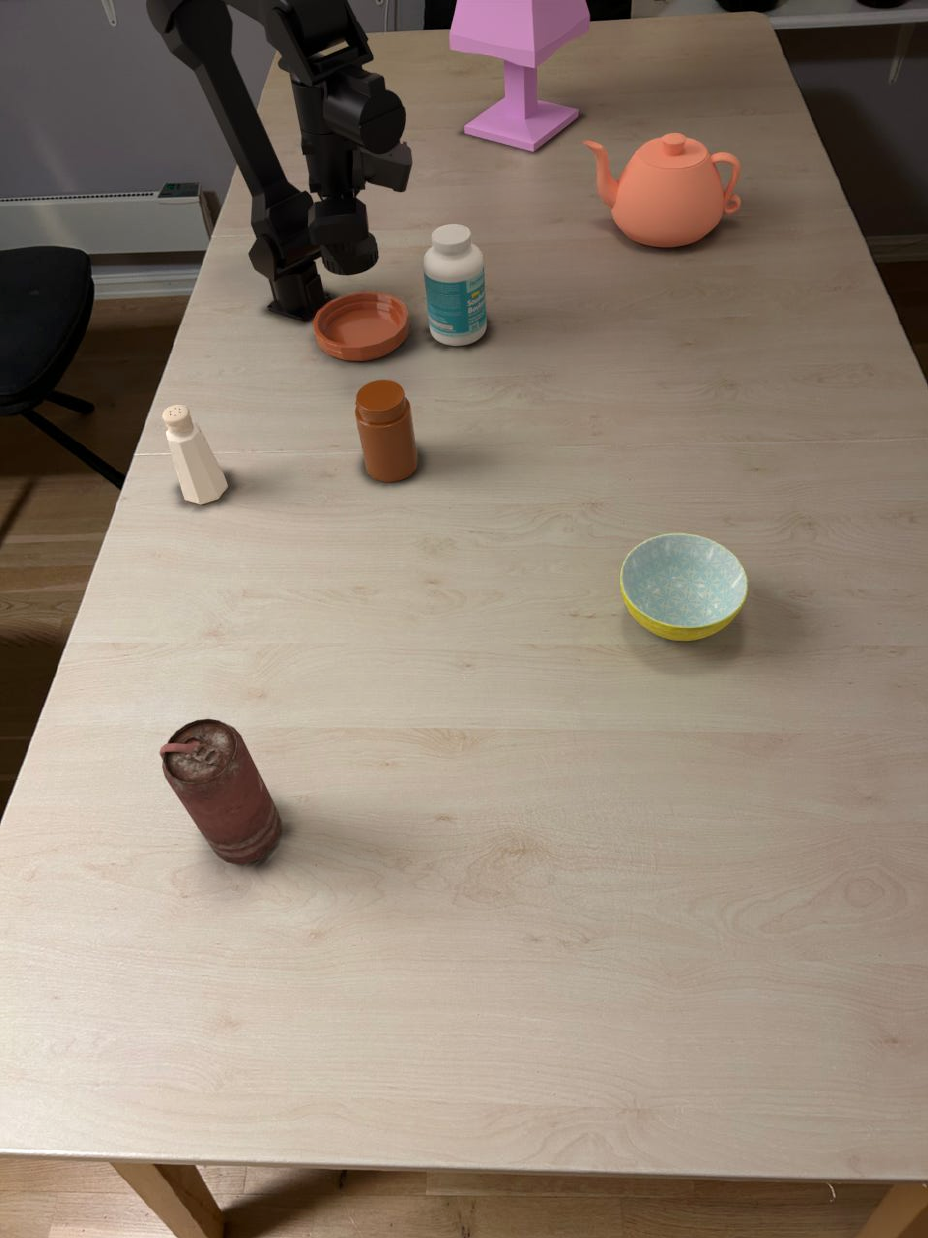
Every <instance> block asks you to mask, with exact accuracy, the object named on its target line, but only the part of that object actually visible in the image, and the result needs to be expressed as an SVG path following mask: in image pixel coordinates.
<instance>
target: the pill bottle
mask: <svg viewBox="0 0 928 1238" xmlns="http://www.w3.org/2000/svg"><path fill="white" fill-rule="evenodd" d="M422 269H423V277H424V287H425V295H426V305H427V315H428V325H429V330H430V334H431V336H432V337H433V339H434V340H435V341H437V342H438V343H440V344H443V345H445V346H453V347H462V346H467V345H470V344H473V343H475V342H477V341H479V340H480V339H481V338H482V337H483V336H484V335H485V333H486V331H487V326H488V320H487V319H488V318H487V301H486V300H487V299H486V282H485V281H486V279H485V278H486V277H485V259H484V255H483V252H482V251H481V249H480V248H479V246H477V245H476V244H474V243H472V233H471V230H470V229H469V228H468V227H467V226H465V225H463V224H458V223H450V224H449V223H448V224H444V225H441V226H438V227H437V228H435V229H434V230H433V231H432V233H431V246H430V248H428V249H427V251H426V252H425V254H424V256H423V260H422Z"/></svg>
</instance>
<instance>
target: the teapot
mask: <svg viewBox="0 0 928 1238" xmlns="http://www.w3.org/2000/svg"><path fill="white" fill-rule="evenodd" d="M582 143H583V144H584V145H585V146H586V147H588V149H589V150H591V152H592V153H593V155H594V157H595V162H596V187H597V192H598V195H599V197H600V199H601V200H602V202H603V203H604V204H605V205H606V206H608V207H609V208H610V213H611V217H612V219H613V221H614V223H615V224H616V226H617V227H618V228H619V229H620V230H621V232H622V233H623V234H624V235H625V236H626V237H628V238H629V239H630V240H631V241H634V242H636V243H639V244H640V245H641V244H642V245H646V246H649V247H655V248H675V247H677V248H678V247H682V246H687V245H690V244H693V243H696V242H698V241H700V240H701V239H703V238H704V237H705V236H707V235H708V234H709V233H710V232H712V231H713V230H714V229H715V228H716V226H717V225H719V223H720V221H721V220H722V217H723V214H725V215H732V214H735V213H737V212H738V211H739V209H740V208H741V204H742V200H741V197H740V196H739V195H738V194H736V193H735V194H733V192H734V190H735V188H736V187H737V184H738V182H739V179H740V175H741V163H740V160H739V159H738V158H737V156H735V155H734V154H733V153H730V152H727V151H720V152H716V153H713V154H712V155H711V153H710V152H709V150H708V148H707V147H706V146H705V144H703V143H702V142H700V141H698V140H696V139H694V138H691V137H687V136H686V135H685V134H683V133H679V132H670V133H666V134H664V135H663V136H662V137H655V138H654V139H651V140H648V141H646V142H644V143H643V144H642V145H641V146H640V147H639V148H638V149H637V150H636V151H635V152H634V154H633V156H632V157H631V158H630V159H629V161H628V163H627V164H626V165H625V166H624V168H623V170H622V171H621V173H620V175H619V177H618V180H617V179H615V178H614V177H613V176H612V175H611V173H610V158H609V153H608V151H607V149H606V148H605V146H604V145H602V144H600V143H598V142H596V141H591V140H583V141H582ZM717 163H727V164H729V165H731V167H732V173H731V177H730V179H729V182H728V184H727V186H726V188H725V190H724V185H723V181H722V177H721V175H720V172H719V169H718V167H717V165H716V164H717ZM729 202H734V203H733V204H729Z"/></svg>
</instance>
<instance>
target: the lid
mask: <svg viewBox="0 0 928 1238" xmlns="http://www.w3.org/2000/svg"><path fill="white" fill-rule="evenodd" d="M320 249H321V257H320V258H321V261H322V265H323V267H324V269H325V270H326V271H327V272H329V273H331V274H334V275H338V276H346V275H345V274H344V272H343V271H342V269H341V268H340V267H339V265H338V264H337V263H336V261H335V260H334V259H333V257H332V256H331V255H330V253H329V252H328V251H327V250H326V248H325V247H324V246H323V245H320ZM379 254H380V253H379V247H378V242H377V238H376V237H375V235H374V234H373V233H371V232H370V231H369V238H367V239H366V240H364V241H357V245H356V266H355V274H354V275H359V274H362V273H365V272H367V271H369V270H371V269H372V268H374V267H375V266H376V264H377V263H378V261H379V258H380V255H379ZM354 275H353V276H354Z"/></svg>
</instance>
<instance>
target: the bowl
mask: <svg viewBox="0 0 928 1238" xmlns="http://www.w3.org/2000/svg"><path fill="white" fill-rule="evenodd" d="M619 582H620V584H619V585H620V586H619V587H620V591H621V595H622V600H623V602H624V604H625V606H626V608H627V610H628V612H629V613H630V614H631V616H632V617H633V618H634V620H635V621H636V622H637V623H638V624H639V625H640V626H641V627H642V628H644V629H646V630H647V631H648V632H649V633H651V634H653V635H655V636H657V637H660V638H662V639H666V640H670V641H678V642H690V641H697V640H701V639H705V638H709V637H710V636H713V635H714V634H716V633H718V632H720V631H721V630H722V629H724V628H725V627H727V626H728V625H729V624H730V623H731V622H732V621H733V620H734V618H736V616H737V615H738V614H739V612H740V611H741V609H742V608H743V606H744V604H745V602H746V599H747V596H748V591H749V581H748V576H747V572H746V569H745V568H744V566H743V564H742V562H741V561H740V559H739V558H738V557H737V556H736V555H735V553H733V552H732V551H731V550H729V549H728V548H727V547H726V546H724V545H723V544H721V543H720V542H717V541H715V540H713V539H711V538H708V537H705V536H702V535H700V534H699V535H698V534H695V533H694V534H693V533H687V532H671V533H670V532H669V533H663V534H658V535H656V536H653V537H649V538H647V539H645V540H643V541H641V542H640V543H639V544H637V545H636V546H634V547H633V548H632V549H631V550H630V552H629V553H628V554H627V555H626V556H625V558H624V560H623V562H622V564H621V567H620V571H619Z"/></svg>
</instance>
